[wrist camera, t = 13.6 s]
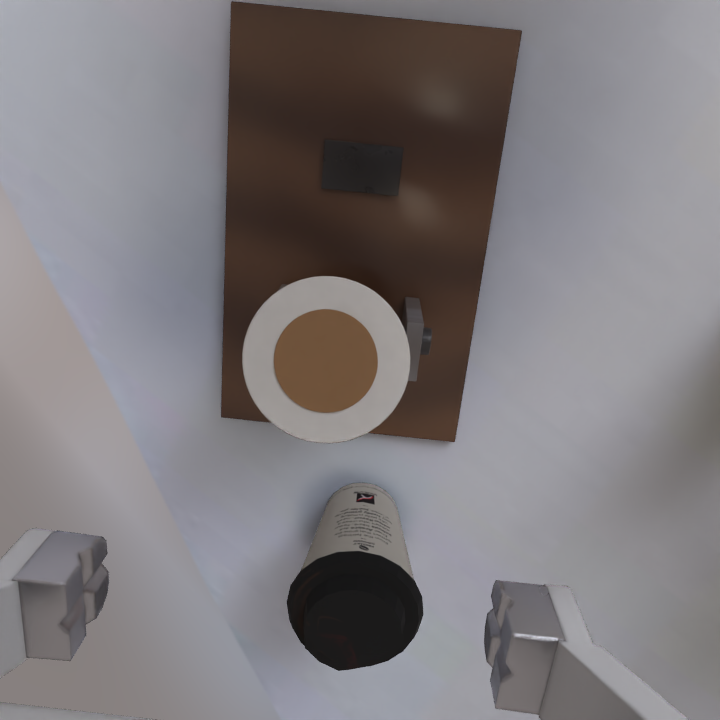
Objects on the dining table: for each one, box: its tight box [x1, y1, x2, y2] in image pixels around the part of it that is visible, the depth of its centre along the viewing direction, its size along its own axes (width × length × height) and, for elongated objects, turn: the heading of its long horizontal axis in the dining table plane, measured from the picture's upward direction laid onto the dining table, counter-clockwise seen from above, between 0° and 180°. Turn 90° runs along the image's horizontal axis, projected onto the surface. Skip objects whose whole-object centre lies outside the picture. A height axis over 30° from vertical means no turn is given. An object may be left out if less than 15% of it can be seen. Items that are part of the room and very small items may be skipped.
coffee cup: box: [287, 483, 423, 671], centre depth 35 cm, size 7×7×10 cm
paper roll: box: [242, 276, 410, 443], centre depth 26 cm, size 5×5×13 cm
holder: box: [221, 1, 522, 442], centre depth 32 cm, size 22×14×6 cm, turn 175°
